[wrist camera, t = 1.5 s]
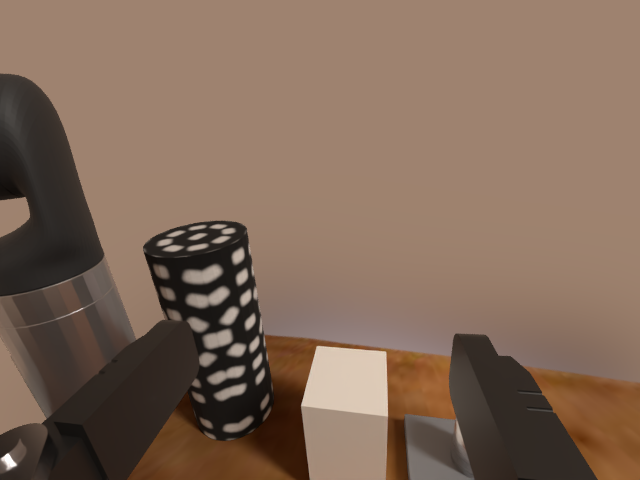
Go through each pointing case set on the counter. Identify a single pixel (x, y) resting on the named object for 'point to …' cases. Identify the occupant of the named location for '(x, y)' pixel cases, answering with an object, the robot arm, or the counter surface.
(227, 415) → the white-spotted black cylinder
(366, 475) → the block
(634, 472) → the counter surface
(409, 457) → the base plate
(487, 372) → the robot arm
